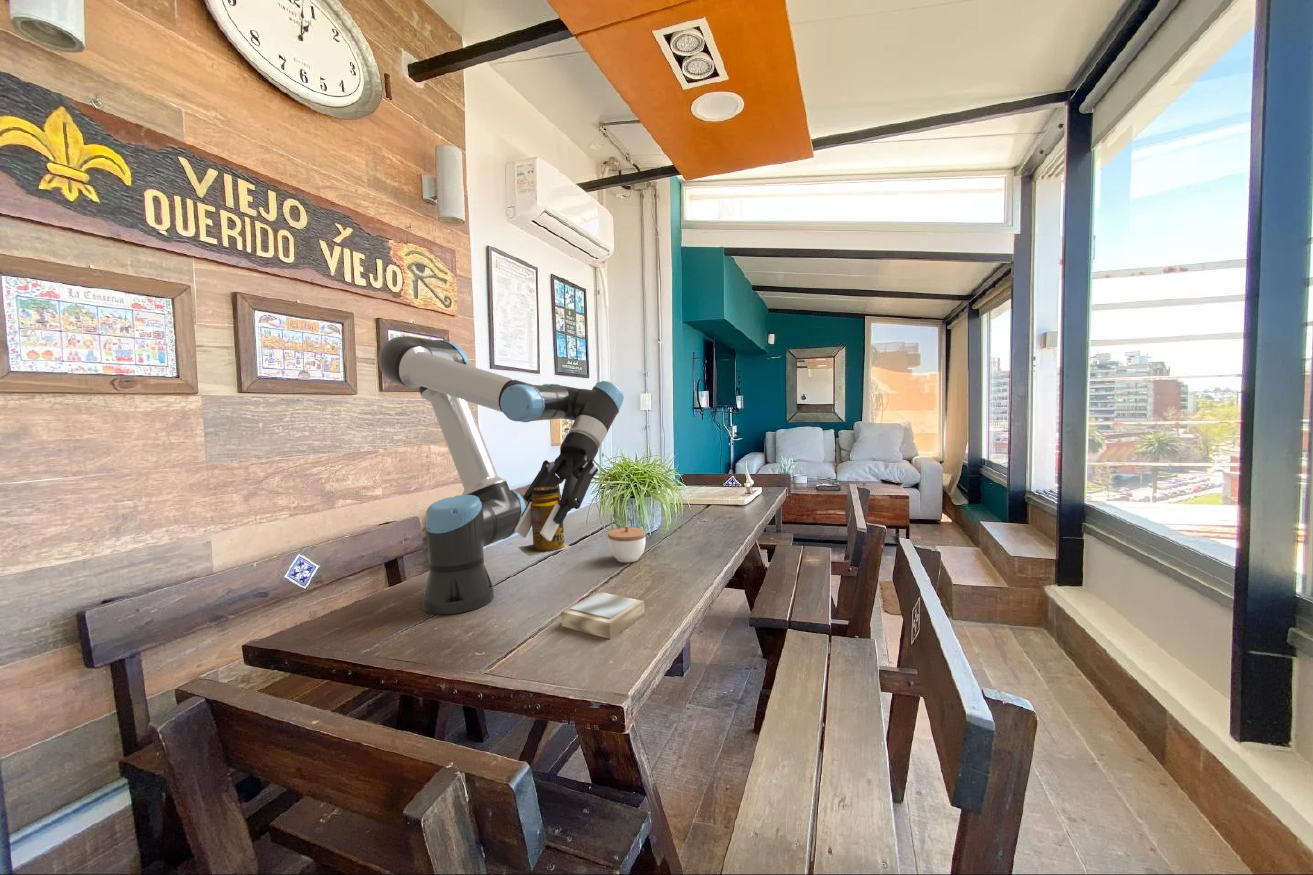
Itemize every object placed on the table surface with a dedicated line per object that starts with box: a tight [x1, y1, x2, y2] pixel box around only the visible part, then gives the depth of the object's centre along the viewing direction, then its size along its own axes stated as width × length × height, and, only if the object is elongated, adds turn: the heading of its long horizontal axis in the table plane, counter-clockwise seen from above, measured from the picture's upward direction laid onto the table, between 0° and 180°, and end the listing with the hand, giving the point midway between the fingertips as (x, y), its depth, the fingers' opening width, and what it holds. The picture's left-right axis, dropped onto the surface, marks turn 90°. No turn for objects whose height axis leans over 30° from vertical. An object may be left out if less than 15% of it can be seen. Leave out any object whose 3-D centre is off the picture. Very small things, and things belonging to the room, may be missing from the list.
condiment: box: [517, 485, 572, 557], centre depth 101 cm, size 7×8×12 cm
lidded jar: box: [607, 525, 647, 564], centre depth 145 cm, size 11×11×9 cm
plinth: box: [560, 591, 646, 640], centre depth 104 cm, size 12×12×3 cm
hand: (532, 535), depth 98 cm, fingers closed on condiment, 6 cm apart
